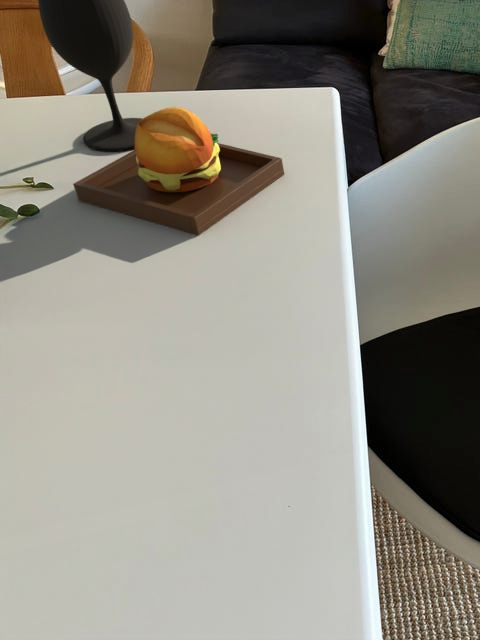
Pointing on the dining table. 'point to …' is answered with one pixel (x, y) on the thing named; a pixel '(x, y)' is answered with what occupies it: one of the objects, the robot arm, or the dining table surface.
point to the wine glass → (94, 56)
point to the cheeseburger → (176, 151)
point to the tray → (181, 207)
